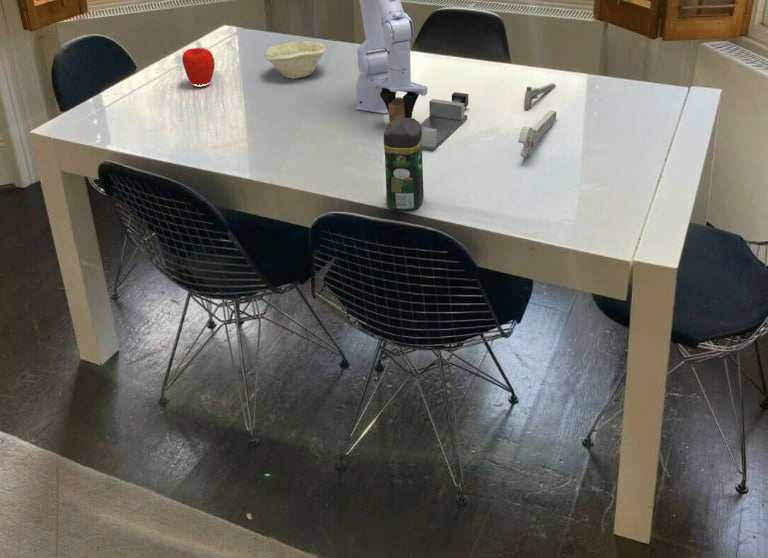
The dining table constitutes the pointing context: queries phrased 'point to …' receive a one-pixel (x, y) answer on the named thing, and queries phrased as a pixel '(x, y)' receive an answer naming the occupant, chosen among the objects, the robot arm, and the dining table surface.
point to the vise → (438, 131)
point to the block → (396, 109)
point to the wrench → (535, 133)
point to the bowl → (295, 57)
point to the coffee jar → (403, 164)
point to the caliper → (535, 94)
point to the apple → (198, 65)
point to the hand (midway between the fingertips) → (400, 118)
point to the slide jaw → (449, 107)
